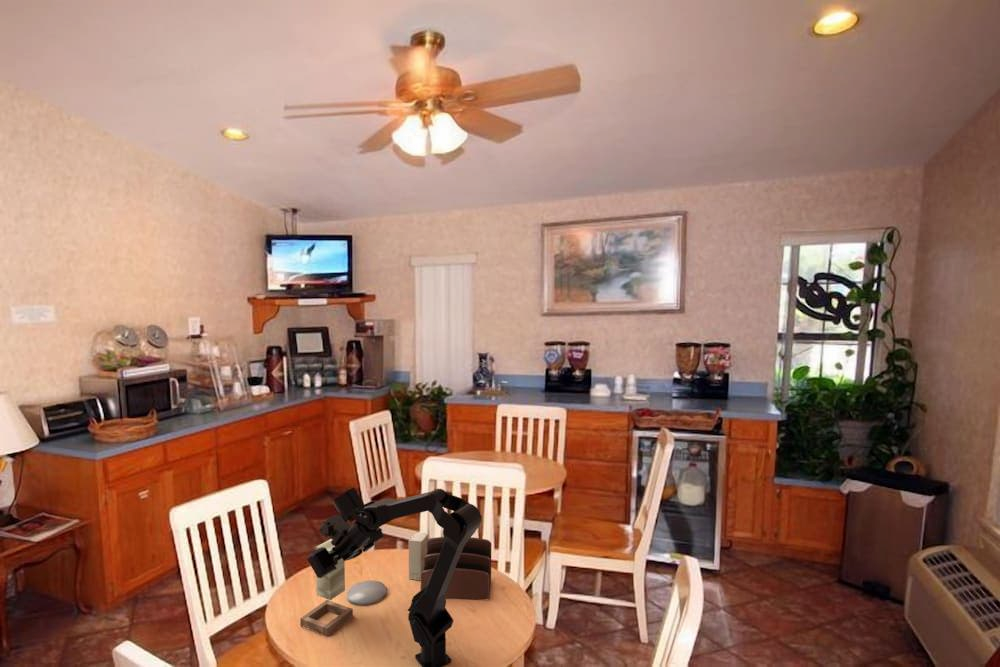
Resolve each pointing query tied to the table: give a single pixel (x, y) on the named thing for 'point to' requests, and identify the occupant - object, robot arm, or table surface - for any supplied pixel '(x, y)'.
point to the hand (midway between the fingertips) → (326, 566)
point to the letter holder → (463, 569)
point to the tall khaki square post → (331, 577)
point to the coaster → (366, 592)
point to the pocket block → (326, 629)
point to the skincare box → (417, 554)
